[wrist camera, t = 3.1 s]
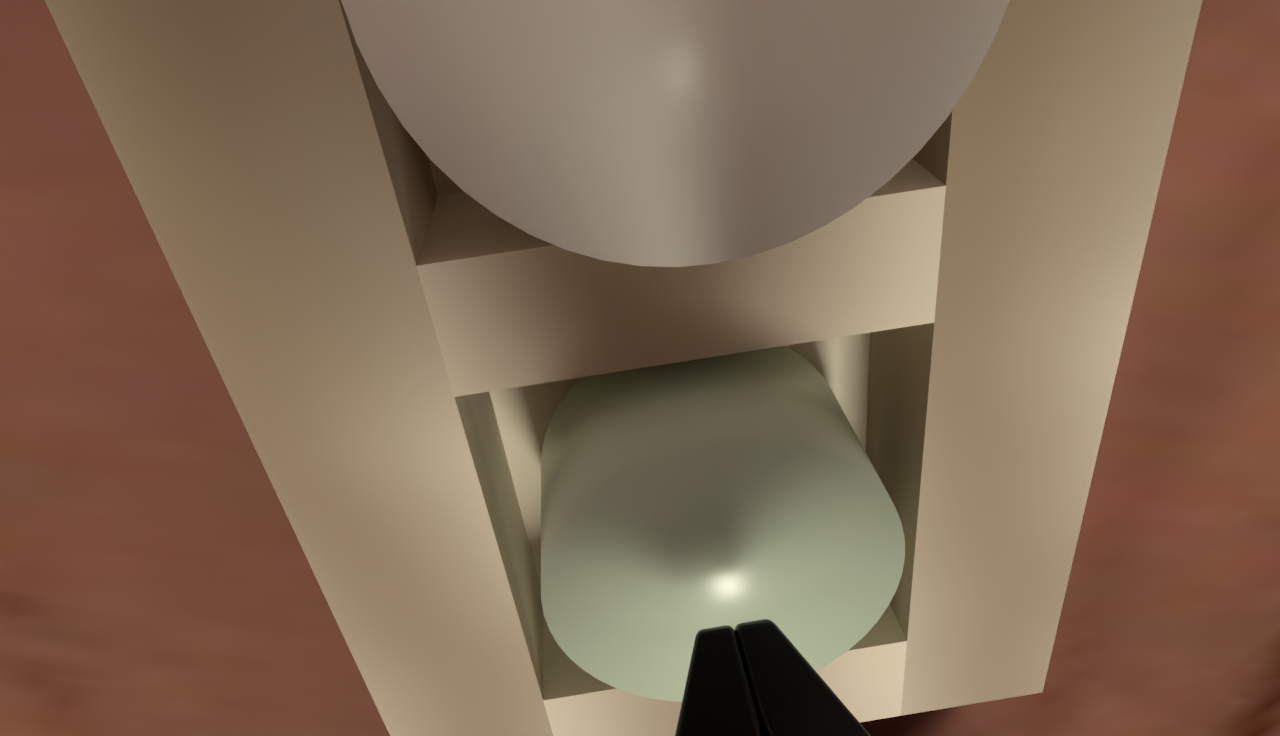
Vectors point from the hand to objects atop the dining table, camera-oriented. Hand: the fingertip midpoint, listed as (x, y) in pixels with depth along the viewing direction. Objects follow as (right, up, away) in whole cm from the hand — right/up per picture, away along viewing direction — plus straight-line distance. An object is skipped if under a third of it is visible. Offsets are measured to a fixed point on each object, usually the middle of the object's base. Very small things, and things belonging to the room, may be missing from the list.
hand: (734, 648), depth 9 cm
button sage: (0, +2, +3) cm, 3 cm away
